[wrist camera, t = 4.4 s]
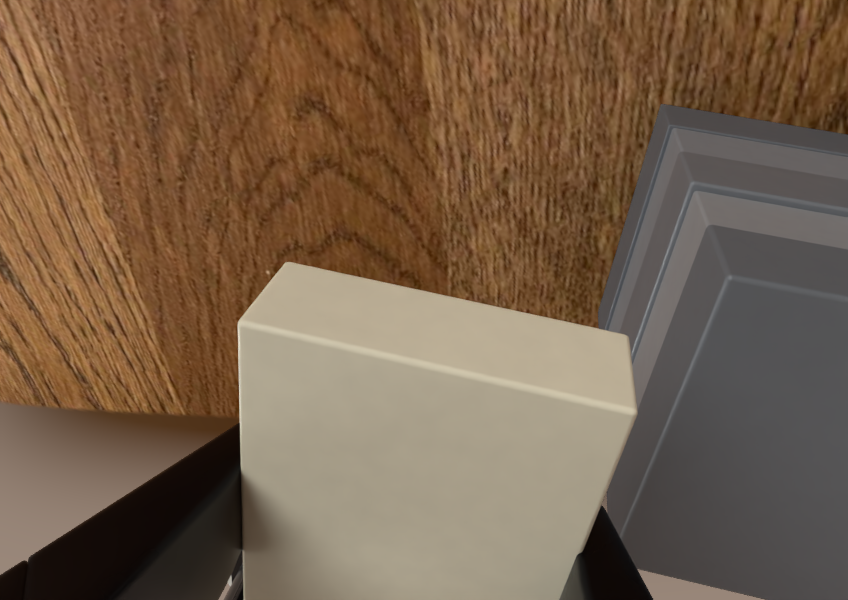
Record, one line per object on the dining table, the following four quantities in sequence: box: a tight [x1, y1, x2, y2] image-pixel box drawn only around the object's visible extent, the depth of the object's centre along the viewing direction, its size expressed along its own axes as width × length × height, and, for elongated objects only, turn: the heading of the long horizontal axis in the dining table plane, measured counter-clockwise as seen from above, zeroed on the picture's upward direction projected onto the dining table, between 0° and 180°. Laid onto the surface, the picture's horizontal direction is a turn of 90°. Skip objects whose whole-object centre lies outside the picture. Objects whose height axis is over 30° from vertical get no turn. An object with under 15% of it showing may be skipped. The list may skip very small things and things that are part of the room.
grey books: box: [598, 104, 848, 600], centre depth 16 cm, size 7×5×10 cm
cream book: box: [238, 262, 638, 600], centre depth 9 cm, size 6×4×2 cm
